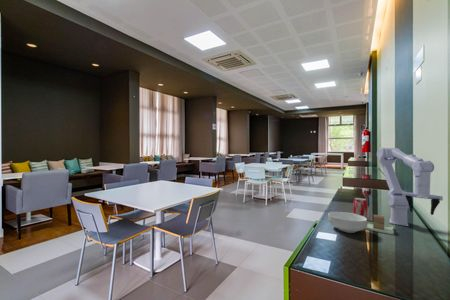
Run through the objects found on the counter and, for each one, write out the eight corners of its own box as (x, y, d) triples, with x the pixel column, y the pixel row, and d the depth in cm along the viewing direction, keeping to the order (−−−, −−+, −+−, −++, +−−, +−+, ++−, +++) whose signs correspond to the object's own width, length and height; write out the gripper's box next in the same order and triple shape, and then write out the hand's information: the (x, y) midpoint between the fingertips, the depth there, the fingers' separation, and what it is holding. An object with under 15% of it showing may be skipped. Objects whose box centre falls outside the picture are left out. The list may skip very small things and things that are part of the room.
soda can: (369, 222, 123) (369, 200, 123) (355, 220, 125) (356, 199, 125) (363, 218, 130) (364, 198, 130) (350, 217, 132) (351, 197, 132)
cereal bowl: (366, 228, 112) (367, 215, 112) (366, 239, 98) (367, 223, 98) (329, 222, 121) (330, 209, 121) (325, 230, 107) (325, 216, 107)
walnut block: (373, 225, 115) (373, 214, 115) (383, 227, 113) (384, 216, 113) (373, 228, 112) (373, 216, 112) (384, 230, 109) (384, 218, 109)
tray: (365, 223, 121) (365, 221, 121) (392, 228, 114) (392, 226, 114) (363, 229, 111) (364, 226, 111) (393, 235, 104) (393, 232, 104)
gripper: (403, 184, 109) (403, 211, 109) (444, 188, 101) (443, 217, 101) (402, 182, 115) (402, 208, 115) (441, 186, 107) (440, 214, 107)
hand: (421, 212), depth 108 cm, fingers open, 7 cm apart
